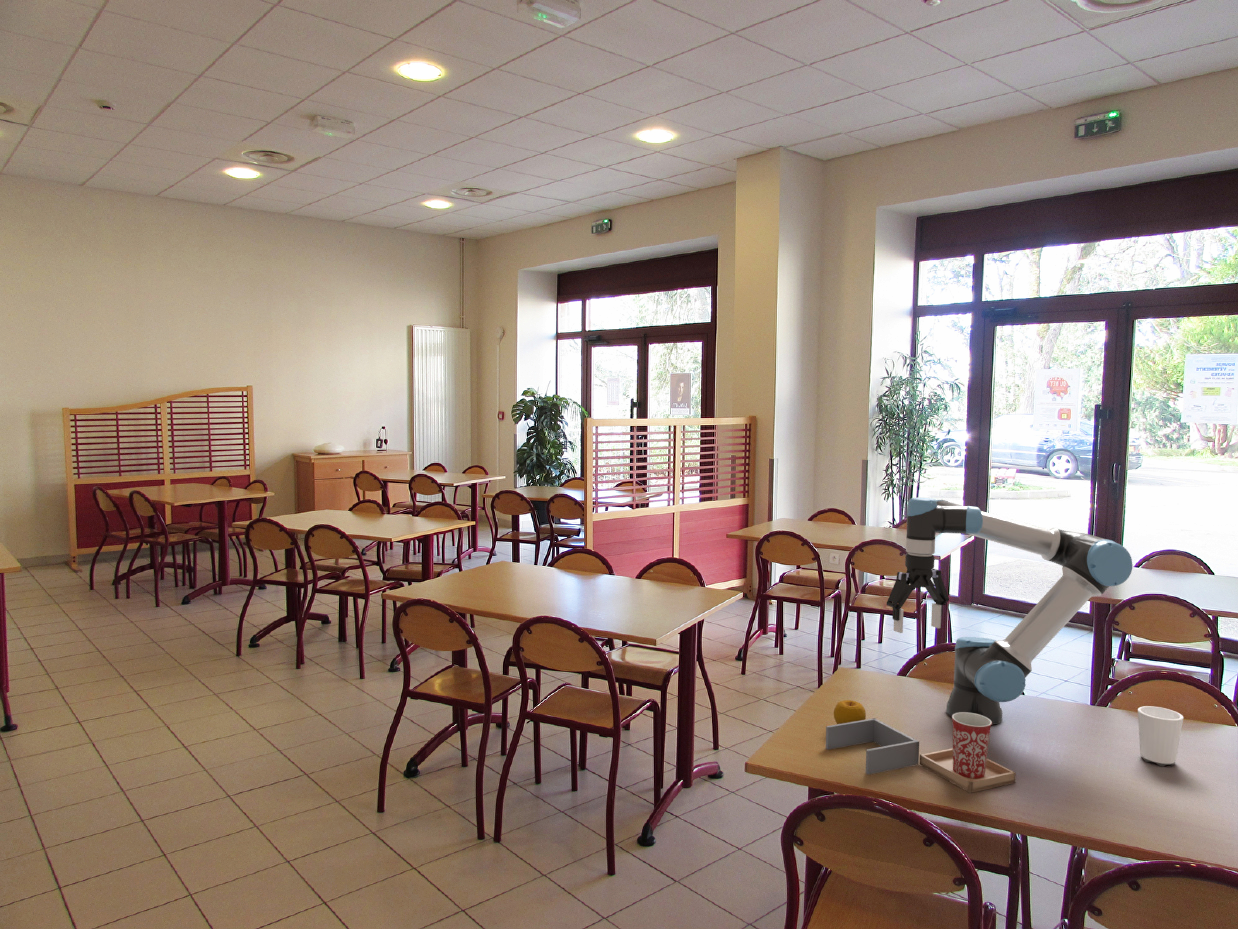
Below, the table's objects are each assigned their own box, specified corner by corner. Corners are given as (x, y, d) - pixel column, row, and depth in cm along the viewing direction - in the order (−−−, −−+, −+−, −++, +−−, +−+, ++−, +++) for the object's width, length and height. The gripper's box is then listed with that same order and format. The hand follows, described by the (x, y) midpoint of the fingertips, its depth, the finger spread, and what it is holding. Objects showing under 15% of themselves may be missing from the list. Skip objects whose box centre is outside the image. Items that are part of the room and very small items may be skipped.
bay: (873, 739, 221) (874, 718, 220) (918, 764, 205) (919, 741, 205) (825, 748, 215) (826, 726, 214) (867, 774, 199) (868, 751, 199)
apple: (831, 735, 223) (832, 703, 223) (835, 724, 231) (836, 694, 231) (863, 740, 220) (864, 708, 220) (866, 729, 228) (867, 698, 227)
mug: (993, 782, 194) (996, 727, 193) (953, 778, 196) (955, 723, 195) (981, 760, 206) (984, 708, 206) (943, 757, 208) (945, 705, 207)
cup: (1173, 756, 213) (1176, 708, 212) (1186, 772, 204) (1189, 722, 203) (1130, 750, 216) (1133, 704, 215) (1140, 765, 207) (1143, 717, 206)
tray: (962, 755, 211) (962, 746, 211) (1015, 782, 196) (1015, 772, 196) (919, 764, 206) (919, 754, 205) (970, 793, 191) (970, 782, 190)
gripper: (943, 549, 233) (941, 622, 234) (874, 554, 223) (872, 630, 224) (964, 553, 226) (961, 628, 228) (894, 558, 216) (891, 637, 218)
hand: (917, 629), depth 226 cm, fingers open, 13 cm apart
